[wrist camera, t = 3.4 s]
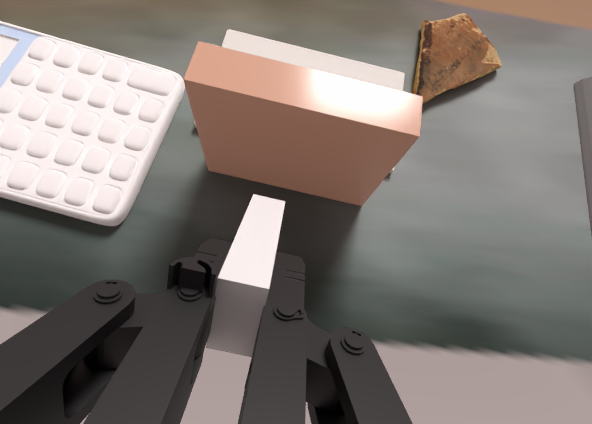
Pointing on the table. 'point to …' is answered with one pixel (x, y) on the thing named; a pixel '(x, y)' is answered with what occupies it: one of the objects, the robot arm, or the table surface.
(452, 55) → the shard
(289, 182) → the terracotta tile
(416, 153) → the table surface
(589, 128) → the gray half cylinder
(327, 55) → the white rectangular slab
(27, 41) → the calculator
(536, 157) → the table surface
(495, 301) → the table surface
